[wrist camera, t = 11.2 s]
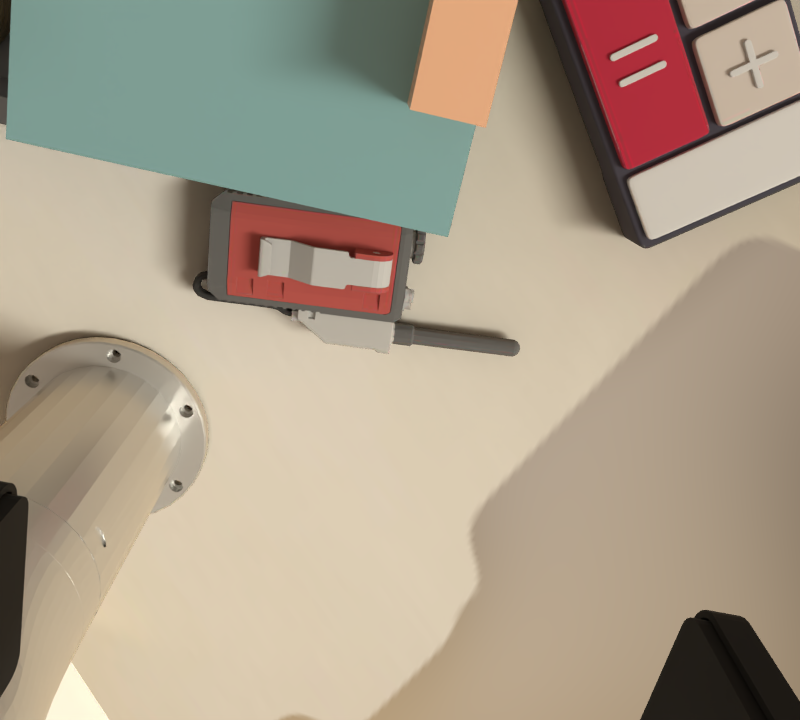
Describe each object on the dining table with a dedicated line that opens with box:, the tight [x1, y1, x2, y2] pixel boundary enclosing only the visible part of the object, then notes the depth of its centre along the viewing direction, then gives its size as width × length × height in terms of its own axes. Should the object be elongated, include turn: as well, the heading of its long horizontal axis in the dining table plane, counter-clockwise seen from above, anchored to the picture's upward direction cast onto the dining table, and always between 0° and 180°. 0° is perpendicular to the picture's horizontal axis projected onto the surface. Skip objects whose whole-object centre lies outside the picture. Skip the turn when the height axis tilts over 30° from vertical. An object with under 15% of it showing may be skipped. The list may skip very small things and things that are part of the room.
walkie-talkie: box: [193, 188, 520, 356], centre depth 44 cm, size 9×4×20 cm
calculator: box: [540, 0, 800, 248], centre depth 41 cm, size 11×4×15 cm
